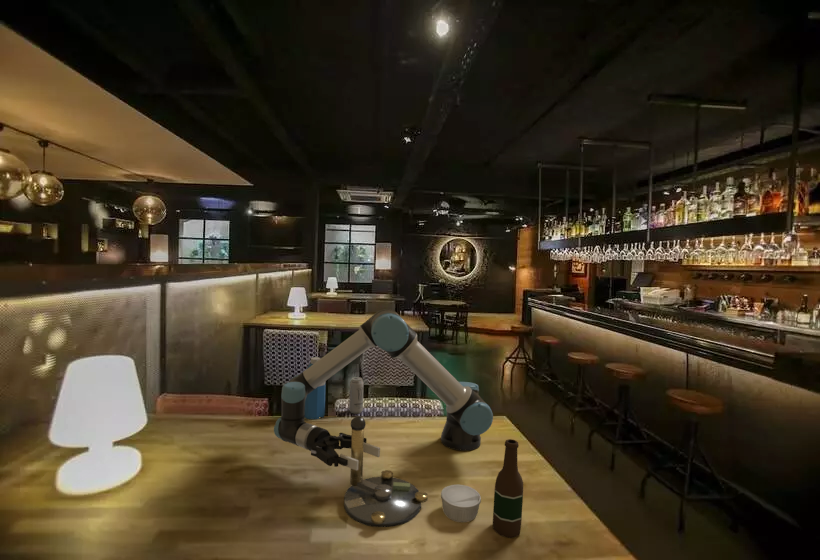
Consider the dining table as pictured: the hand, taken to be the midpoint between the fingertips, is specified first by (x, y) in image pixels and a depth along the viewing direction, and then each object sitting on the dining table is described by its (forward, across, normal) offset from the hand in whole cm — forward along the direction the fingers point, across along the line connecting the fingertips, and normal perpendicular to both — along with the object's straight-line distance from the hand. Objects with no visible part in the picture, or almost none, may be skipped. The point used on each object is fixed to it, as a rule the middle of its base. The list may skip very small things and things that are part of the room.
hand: (368, 458), depth 128 cm
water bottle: (-57, -35, -12) cm, 68 cm away
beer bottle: (+39, -10, -12) cm, 42 cm away
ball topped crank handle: (+1, 0, -9) cm, 9 cm away
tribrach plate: (+6, 0, -12) cm, 13 cm away
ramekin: (+26, -9, -12) cm, 30 cm away
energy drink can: (-46, -50, -12) cm, 69 cm away
